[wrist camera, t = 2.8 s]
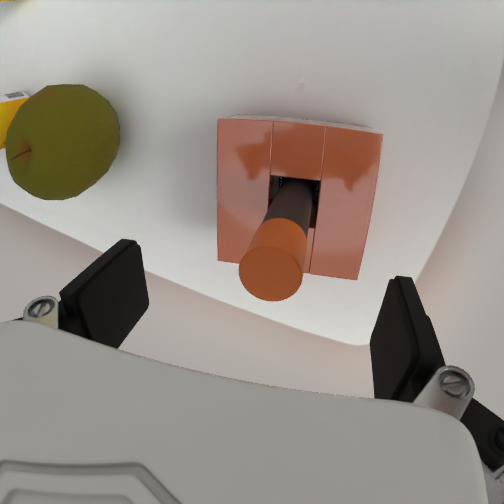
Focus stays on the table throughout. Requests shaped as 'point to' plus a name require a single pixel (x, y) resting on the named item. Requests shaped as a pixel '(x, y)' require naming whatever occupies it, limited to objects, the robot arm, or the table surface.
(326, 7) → the table surface
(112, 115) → the apple
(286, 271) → the marker
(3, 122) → the beer can
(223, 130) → the holder
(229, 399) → the robot arm
